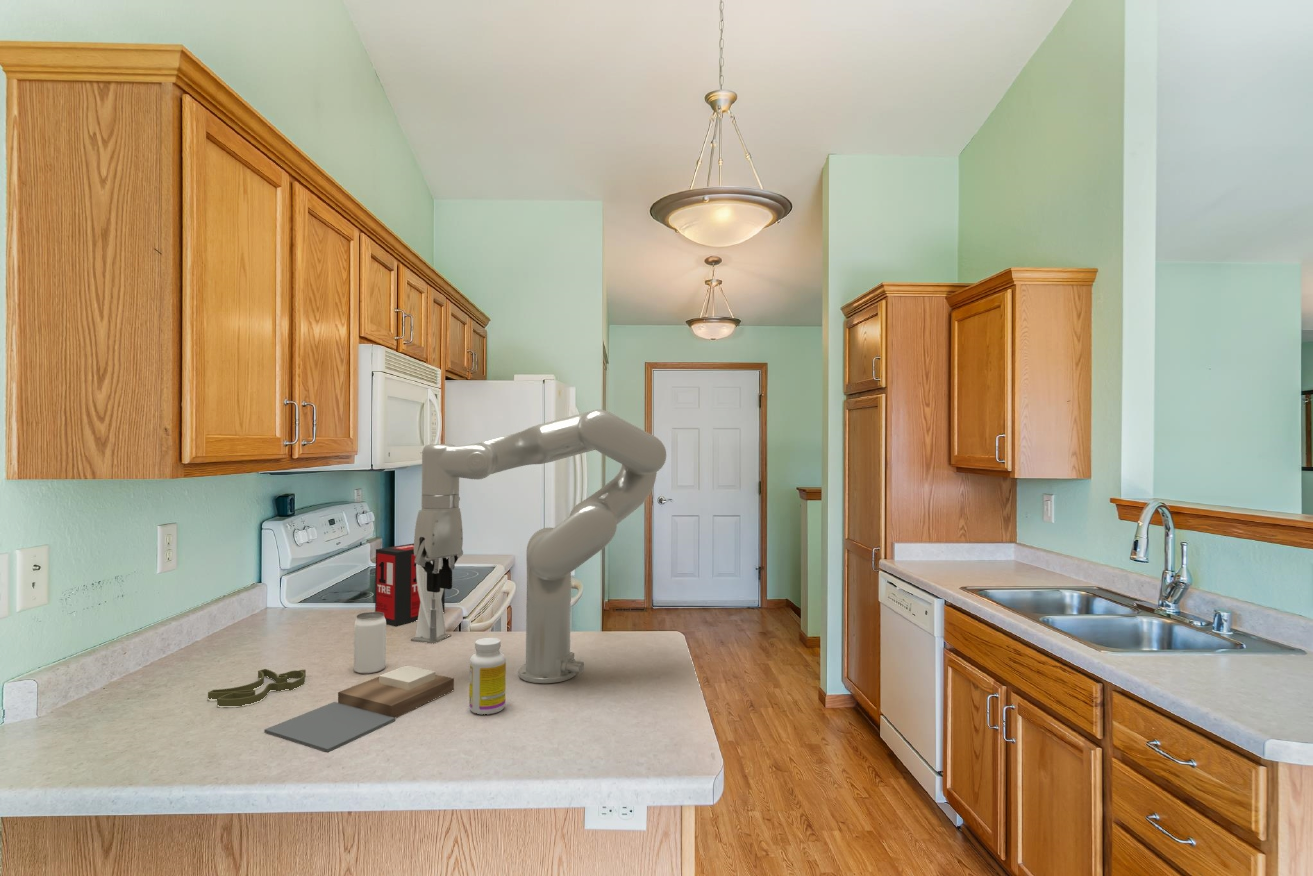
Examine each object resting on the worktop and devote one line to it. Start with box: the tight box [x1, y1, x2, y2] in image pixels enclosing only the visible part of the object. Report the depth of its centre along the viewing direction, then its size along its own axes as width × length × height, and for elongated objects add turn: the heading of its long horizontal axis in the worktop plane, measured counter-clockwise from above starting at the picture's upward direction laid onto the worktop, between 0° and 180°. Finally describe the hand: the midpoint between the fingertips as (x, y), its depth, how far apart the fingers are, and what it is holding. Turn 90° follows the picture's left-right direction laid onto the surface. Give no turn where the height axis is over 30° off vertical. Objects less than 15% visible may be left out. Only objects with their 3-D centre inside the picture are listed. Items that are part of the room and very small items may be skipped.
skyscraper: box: [410, 558, 452, 645], centre depth 175 cm, size 8×8×28 cm
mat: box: [263, 701, 396, 753], centre depth 121 cm, size 16×14×1 cm
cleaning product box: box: [374, 542, 446, 628], centre depth 194 cm, size 16×9×20 cm, turn 149°
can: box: [353, 611, 387, 675], centre depth 151 cm, size 6×6×12 cm
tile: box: [378, 665, 437, 690], centre depth 137 cm, size 8×7×2 cm
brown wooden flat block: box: [337, 674, 455, 719], centre depth 135 cm, size 14×16×2 cm
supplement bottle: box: [468, 637, 507, 715], centre depth 130 cm, size 7×7×13 cm
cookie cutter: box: [207, 668, 307, 706], centre depth 138 cm, size 18×12×2 cm, turn 167°
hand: (439, 589), depth 144 cm, fingers open, 2 cm apart
